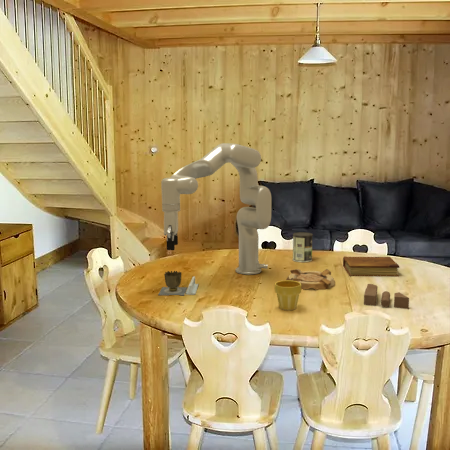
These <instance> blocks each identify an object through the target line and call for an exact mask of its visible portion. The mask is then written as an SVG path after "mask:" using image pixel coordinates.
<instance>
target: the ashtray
mask: <svg viewBox="0 0 450 450" xmlns="http://www.w3.org/2000/svg"><path fill="white" fill-rule="evenodd" d="M286 280H291V281H297V282H300V283H301V290H302V289H303V291H304V290H310V289H314V290H315V291H321V290H322V291H324V290H328V289H332V288H334V287H335V286H336V280H335V279H334V277H333V276H332V271H331V270H330V269H328V268H326V269H324V270H323V271H318V270H306V271H305V270H304V271H303V270H301V269H298V268H296V269H291V270H290V274H289V275H288V276H287V277H286Z"/></svg>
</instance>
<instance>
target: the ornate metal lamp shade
mask: <svg viewBox="0 0 450 450" xmlns="http://www.w3.org/2000/svg"><path fill="white" fill-rule="evenodd" d="M182 274H183V273H182V271H177V270H174V271H173V270H171V271H169V270H167V271H165V272H164V273H163V275H164V282H165V286H166V287H169V291H172V292H174V291H177V289H178V288H177V287H179V286H181V282H182Z"/></svg>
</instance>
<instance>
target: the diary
mask: <svg viewBox="0 0 450 450" xmlns="http://www.w3.org/2000/svg"><path fill="white" fill-rule="evenodd" d="M342 267H343V268H344V270H345V272H346V273H347V275H348V277H388V278H389V277H394V278H395V277H398V278H399V277H400V275H399V274H398V269H400V265H399V264H398V263H397V262H396V261H395V260H394V259H393V258H391V256H343V259H342Z"/></svg>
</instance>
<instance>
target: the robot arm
mask: <svg viewBox="0 0 450 450" xmlns="http://www.w3.org/2000/svg"><path fill="white" fill-rule="evenodd" d="M261 162H262V155H261V153H260V152H259V150H258V149H255V148H253V147H249V146H245V145H241V144H240V143H239V144H238V143H229V142H226V143H225V142H222V143H219V144H217V145H216V146H214V147H213V148H212V149H211V150H210V151H208V153H206V154H205V155H203V157H201V158H200V159H198V160H195V161H193V162H191V163H189V164H186V165H184V166H183V167H180V168H179V169H177V170H176V171H175V173H173V174H172V175H170V177H165V178H163V179H161V181H160V182H161V187H160V188H161V209H162V210H161V211H162V213H163V235H164V236H166V251H175V248H176V247H175V246H178V244H179V239H178V236H179V235H178V233H179V232H178V231H179V212H180V211H181V195H191V194H194V193H195V192H197V190H198V188H199V181H198V180H197V179H199V178H206V177H208V176H209V177H210V176H212V175H214V174H215V173H216V172H218V170H219V169H221V168H222V167H223V166H224V165H225V164H228V163H229V164H231V165H232V166H233V167H234V168H235V169H236V170H237V172H238V175H239V200H240V201H241V203H243V204H245V205H249V206H243V207H241V208H240V209H238V211H237V212H236V223H237V228H238V267H236V268H235V273H237V274H239V275H240V274H241V275H246V276H247V275H250V276H251V275H257V274H260V273H261V272H262V269H268V268H269V267H268V265H269V264H266V263H260V260H259V232H258V229H259V230H266V229H267V228H269V226H270V225H271V220H272V193H271V190H270V188H268V187H267V186H264V185H259V183H258V182H259V181H258V172H257V169H256V168H257V167H258V166H259V165H261ZM251 206H255V207H251Z"/></svg>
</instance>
